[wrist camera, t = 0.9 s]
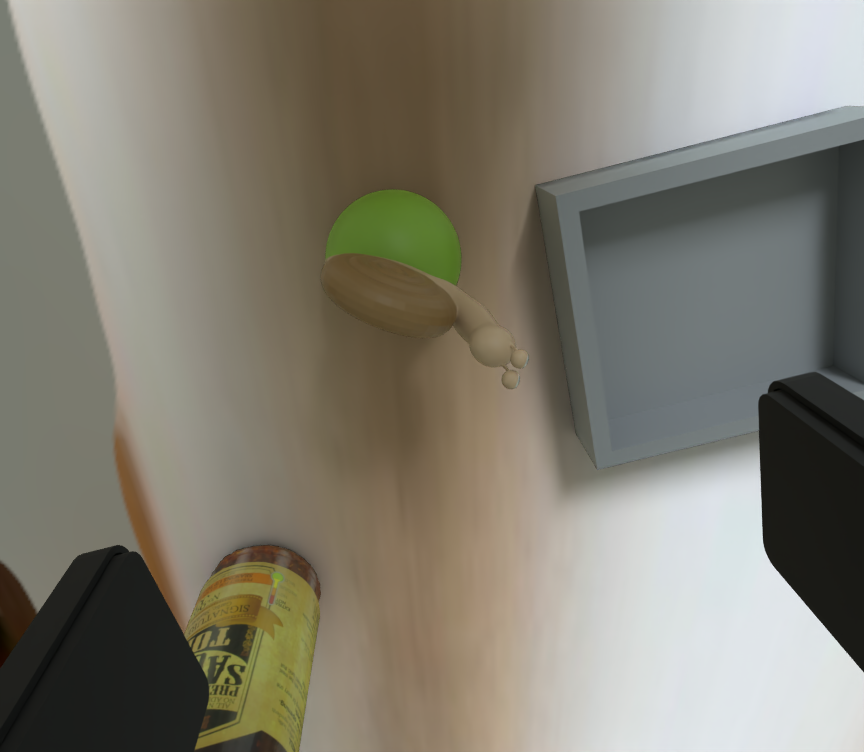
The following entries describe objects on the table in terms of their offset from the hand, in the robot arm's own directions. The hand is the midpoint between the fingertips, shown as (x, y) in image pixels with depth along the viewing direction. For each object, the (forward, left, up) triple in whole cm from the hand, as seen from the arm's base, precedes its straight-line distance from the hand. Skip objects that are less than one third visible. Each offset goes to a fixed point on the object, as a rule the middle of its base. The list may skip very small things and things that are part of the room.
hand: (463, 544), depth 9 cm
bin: (+5, +13, -20) cm, 24 cm away
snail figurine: (0, 0, -20) cm, 21 cm away
